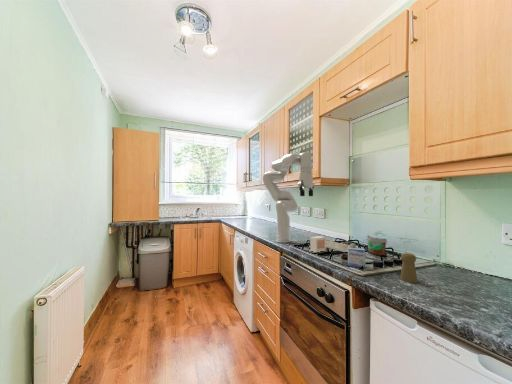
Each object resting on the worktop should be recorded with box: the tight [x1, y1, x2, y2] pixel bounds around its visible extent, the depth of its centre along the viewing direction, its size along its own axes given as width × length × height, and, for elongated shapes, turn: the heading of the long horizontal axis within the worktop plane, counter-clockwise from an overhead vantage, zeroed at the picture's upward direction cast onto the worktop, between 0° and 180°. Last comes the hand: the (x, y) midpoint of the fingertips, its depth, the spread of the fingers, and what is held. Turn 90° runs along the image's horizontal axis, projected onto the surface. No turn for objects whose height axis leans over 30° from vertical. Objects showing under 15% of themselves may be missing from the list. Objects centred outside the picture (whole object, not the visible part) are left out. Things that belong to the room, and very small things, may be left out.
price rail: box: [325, 239, 356, 253], centre depth 147 cm, size 30×2×6 cm, turn 30°
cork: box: [399, 252, 418, 284], centre depth 93 cm, size 6×6×11 cm
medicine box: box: [347, 247, 366, 269], centre depth 112 cm, size 8×4×9 cm, turn 68°
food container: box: [365, 235, 388, 257], centre depth 134 cm, size 12×6×10 cm, turn 25°
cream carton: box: [309, 235, 326, 253], centre depth 141 cm, size 5×8×9 cm, turn 120°
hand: (306, 196), depth 150 cm, fingers open, 9 cm apart
